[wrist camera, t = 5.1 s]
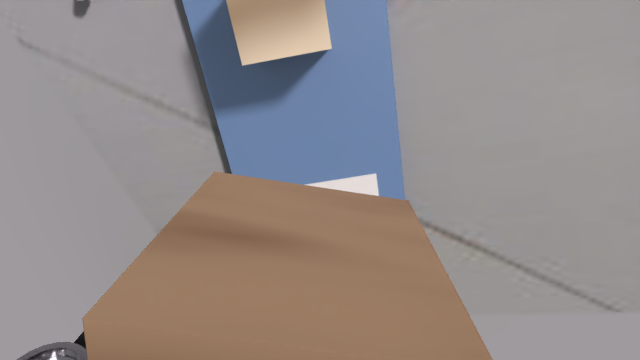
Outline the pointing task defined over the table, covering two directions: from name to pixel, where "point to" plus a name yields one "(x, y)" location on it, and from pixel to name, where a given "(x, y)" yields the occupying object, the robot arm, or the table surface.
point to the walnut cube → (284, 282)
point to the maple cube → (278, 28)
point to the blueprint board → (307, 102)
